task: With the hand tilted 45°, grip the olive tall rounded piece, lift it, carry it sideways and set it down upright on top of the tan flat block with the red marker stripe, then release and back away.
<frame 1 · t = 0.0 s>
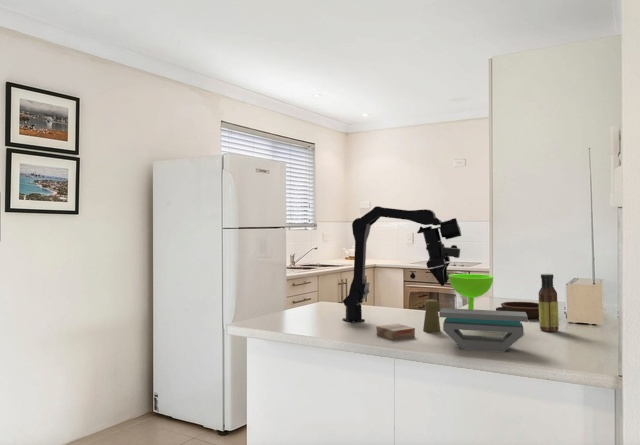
hand: (444, 284, 191), 15 cm above the countertop, tool pointing down, fingers open, 9 cm apart
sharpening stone: (482, 348, 159), on the countertop
sauce bottle: (548, 331, 184), on the countertop
olive tall rounded piece: (431, 331, 183), on the countertop
tan flat block: (395, 336, 175), on the countertop
dish: (524, 317, 212), on the countertop
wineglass: (470, 324, 195), on the countertop
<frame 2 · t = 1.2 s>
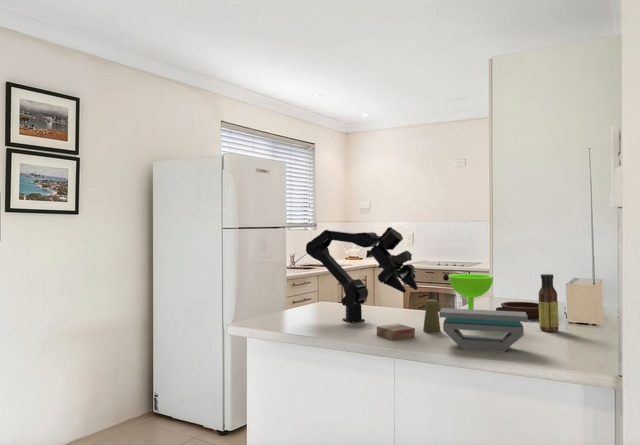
hand: (411, 290, 188), 14 cm above the countertop, tool tilted 45°, fingers open, 9 cm apart
nothing on the countertop moved.
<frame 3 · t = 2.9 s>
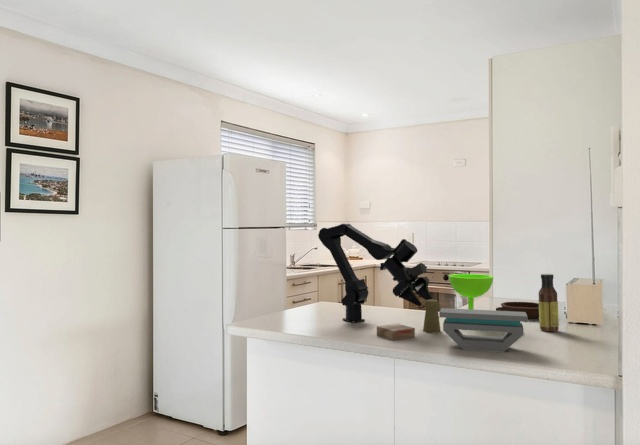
hand: (426, 303, 184), 9 cm above the countertop, tool tilted 45°, fingers open, 9 cm apart
nothing on the countertop moved.
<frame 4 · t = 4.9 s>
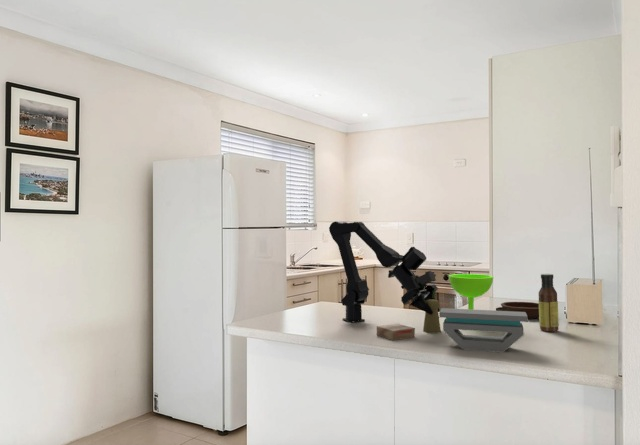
hand: (435, 312, 182), 7 cm above the countertop, tool tilted 45°, fingers closed on olive tall rounded piece, 5 cm apart
olive tall rounded piece: (431, 331, 183), on the countertop, touching gripper
everything else where it was.
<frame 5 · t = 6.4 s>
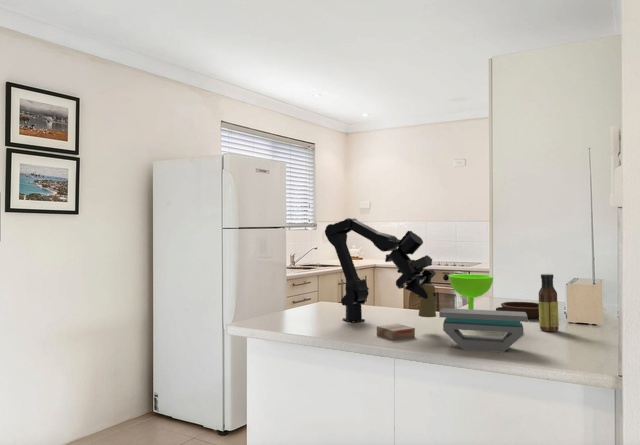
hand: (430, 297, 181), 12 cm above the countertop, tool tilted 45°, fingers closed on olive tall rounded piece, 5 cm apart
olive tall rounded piece: (427, 316, 182), point 5 cm above the countertop, touching gripper
everything else where it was.
when the fingers open (11 cm above the countertop, at t = 8.3 s): olive tall rounded piece drops 1 cm, resting on tan flat block.
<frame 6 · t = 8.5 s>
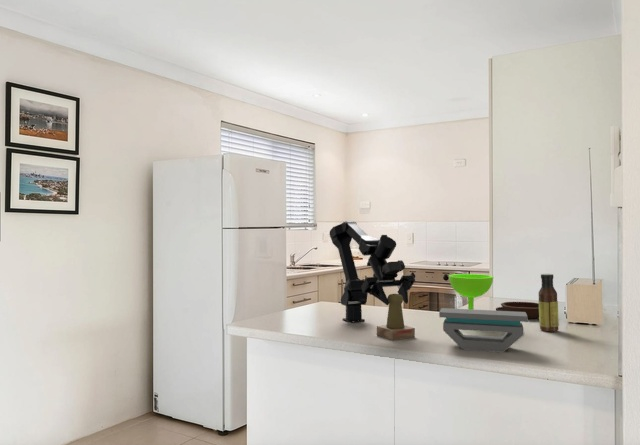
hand: (397, 303, 174), 11 cm above the countertop, tool tilted 45°, fingers open, 7 cm apart
olive tall rounded piece: (395, 327, 175), point 3 cm above the countertop, touching tan flat block
everything else where it was.
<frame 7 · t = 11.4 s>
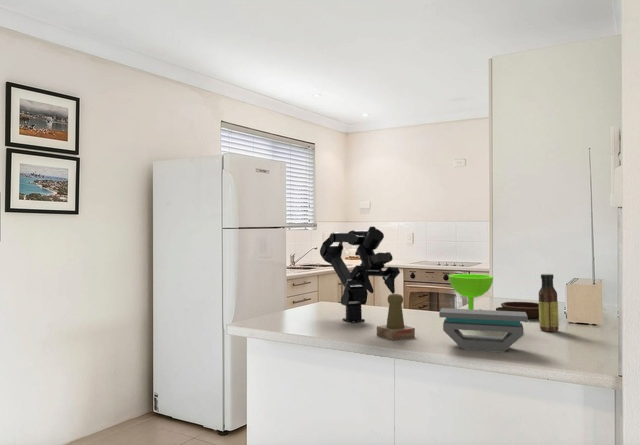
hand: (383, 292, 183), 13 cm above the countertop, tool tilted 40°, fingers open, 9 cm apart
nothing on the countertop moved.
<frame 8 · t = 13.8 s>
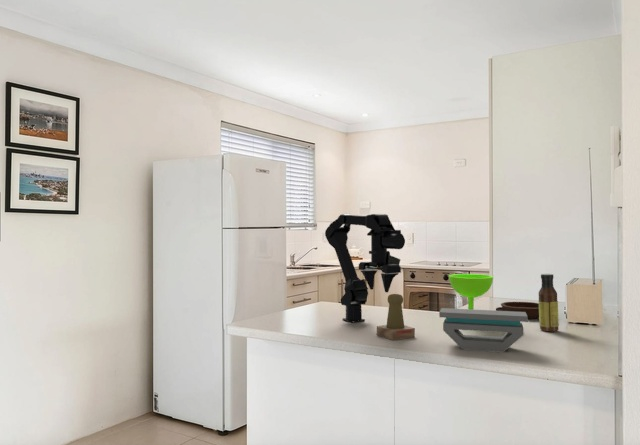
hand: (379, 290, 192), 13 cm above the countertop, tool pointing down, fingers open, 9 cm apart
nothing on the countertop moved.
at the end: olive tall rounded piece 0.1 cm off-centre on the tan flat block, point 2.8 cm above the tan flat block's base; olive tall rounded piece tilted 0°; the gripper is holding nothing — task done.
